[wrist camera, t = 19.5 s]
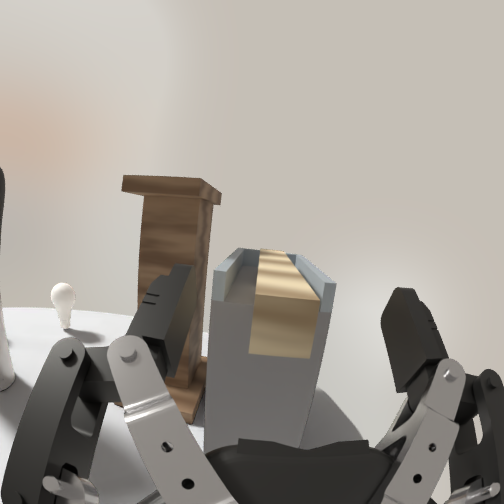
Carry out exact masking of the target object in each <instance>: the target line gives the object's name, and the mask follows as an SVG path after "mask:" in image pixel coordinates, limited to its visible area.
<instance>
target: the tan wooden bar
mask: <svg viewBox="0 0 504 504" xmlns="http://www.w3.org/2000/svg"><path fill="white" fill-rule="evenodd" d="M319 306H320V299H319V298H318V297H317V295H316V294H315V293H314V291H313V290H312V288H311V287H310V286H309V284H308V283H307V282H306V280H305V279H304V278H303V276H302V275H301V274H300V272H299V271H298V270H297V268H296V267H295V266H294V264H293V263H292V262H291V260H290V259H289V258H288V256H287V255H286V254H285V253H284V251H278V250H268V249H260V257H259V266H258V275H257V284H256V293H255V301H254V310H253V319H252V327H251V336H250V344H249V354H259V355H269V356H280V357H292V358H307V359H310V355H311V350H312V345H313V340H314V334H315V329H316V323H317V318H318V312H319Z"/></svg>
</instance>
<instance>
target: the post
mask: <svg viewBox="0 0 504 504" xmlns="http://www.w3.org/2000/svg"><path fill="white" fill-rule="evenodd" d="M122 191H123V192H128V193H132V194H137V195H142V196H144V203H143V214H142V223H141V224H142V225H141V236H140V250H139V251H140V252H139V269H138V308H139V306H140V304H141V303H142V300H143V298H144V296H145V295H146V292H147V290H148V288H149V286H150V284H151V283H152V282H153V281H154V280H155V279H156V278H157V277H159V276H160V275H167V276H169V274H170V272H171V270H172V268H173V266H174V264H175V263H178V264H186V265H194V266H195V273H196V287H197V303H196V309H195V312H194V315H193V319H192V322H191V325H190V328H189V331H188V335H187V338H186V341H185V345H184V348H183V351H182V355H181V358H180V361H179V365H178V368H177V372H176V375H175V378H172V377H167V376H166V378H165V382H164V383H165V385H166V388H167V390H168V392H169V394H170V395H171V397H172V398H173V400H174V402H175V403H176V405H177V407H178V409H179V411H180V413H181V415H182V417H183V418H184V420H185V422H186V423H188V424H192V423H193V420H194V418H195V415H196V412H197V409H198V407H199V404H200V401H201V398H202V396H203V393H204V390H205V387H206V374H207V357H204V356H201V350H202V332H203V316H204V302H205V289H206V275H207V264H208V252H209V242H210V232H211V222H212V213H213V204H214V205H220V203H221V194H222V193H221V192H219V191H218V190H216V189H215V188H214V187H212V186H211V185H210V184H208V183H207V182H205V181H204V180H203V179H201V178H186V177H167V176H141V175H140V176H139V175H124V176H123V183H122ZM114 404H115V405H118V406H121V407H123V404H122V402H114Z"/></svg>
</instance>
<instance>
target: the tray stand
mask: <svg viewBox="0 0 504 504" xmlns="http://www.w3.org/2000/svg"><path fill="white" fill-rule="evenodd" d="M285 254H286V255H287V256H288V258H289V259H290V260H291V262H292V263H293V264H294V266H295V267H296V268H297V270H298V271H299V272H300V274H301V275H302V276H303V278H304V279H305V280H306V282H307V283H308V284H309V286H310V287H311V288H312V290H313V291H314V293H315V294H316V295H317V297H318V298H319V299H320V306H319V312H318V318H317V323H316V329H315V334H314V340H313V345H312V350H311V355H310V359H307V358H292V357H280V356H269V355H259V354H249V344H250V336H251V327H252V319H253V310H254V301H255V293H256V284H257V275H258V266H259V257H260V250H253V249H244V248H238V249H236V250H235V252H233V253H232V254H231V255H230V256H229V257H228V258H227V259H225V260H224V261H223V262H222V263H221V264H220V265H219V266H218V267H217V268H216V269H215V270H214V276H213V286H212V299H211V312H210V326H209V340H208V356H207V374H206V394H205V419H204V454H206V453H208V452H210V451H212V450H214V449H217V448H220V447H224V446H228V445H236V444H238V438H242V439H251V440H263V441H274V442H277V443H280V444H284V445H288V446H291V447H295V448H299V446H300V442H301V439H302V436H303V432H304V429H305V425H306V422H307V418H308V415H309V411H310V407H311V404H312V400H313V396H314V392H315V388H316V384H317V379H318V375H319V371H320V367H321V362H322V357H323V353H324V348H325V344H326V339H327V334H328V329H329V324H330V318H331V313H332V307H333V302H334V296H335V289H336V283H335V282H334V281H333V280H331V279H330V278H329V277H328V276H327V275H326V274H324V273H323V272H322V271H321V270H320V269H318V268H317V267H316V266H315V265H314V264H312V263H311V262H310V261H309V260H307V259H306V258H305V257H304V256H303V255H297V254H288V253H285Z"/></svg>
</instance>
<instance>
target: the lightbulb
mask: <svg viewBox="0 0 504 504" xmlns="http://www.w3.org/2000/svg"><path fill="white" fill-rule="evenodd" d="M51 299H52V302H53V304H54V306H55V308H56V310H57V313H58V318H59V319H60V326H61V327H62V328H64V329H68V328H69V327H70V318H71V310H72V307H73V305H74V302H75V292H74V290H73V288H72V287H71V286H70V285H68V284H66V283H59V284H57V285H56V286H54V288H53V289H52V292H51Z"/></svg>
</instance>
